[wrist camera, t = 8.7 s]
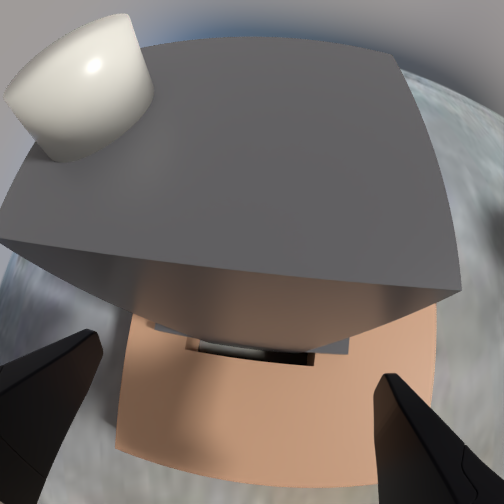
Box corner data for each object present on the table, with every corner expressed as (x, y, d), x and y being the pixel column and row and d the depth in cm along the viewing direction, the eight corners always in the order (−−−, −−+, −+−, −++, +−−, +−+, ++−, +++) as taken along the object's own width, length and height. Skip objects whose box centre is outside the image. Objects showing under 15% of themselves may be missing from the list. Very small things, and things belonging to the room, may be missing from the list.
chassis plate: (396, 464, 13) (415, 477, 10) (135, 438, 15) (115, 448, 12) (409, 225, 20) (425, 206, 17) (180, 202, 21) (169, 179, 19)
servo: (336, 296, 18) (509, 49, 2) (331, 356, 17) (623, 262, 1) (188, 279, 19) (15, 49, 3) (177, 337, 18) (-90, 200, 2)
